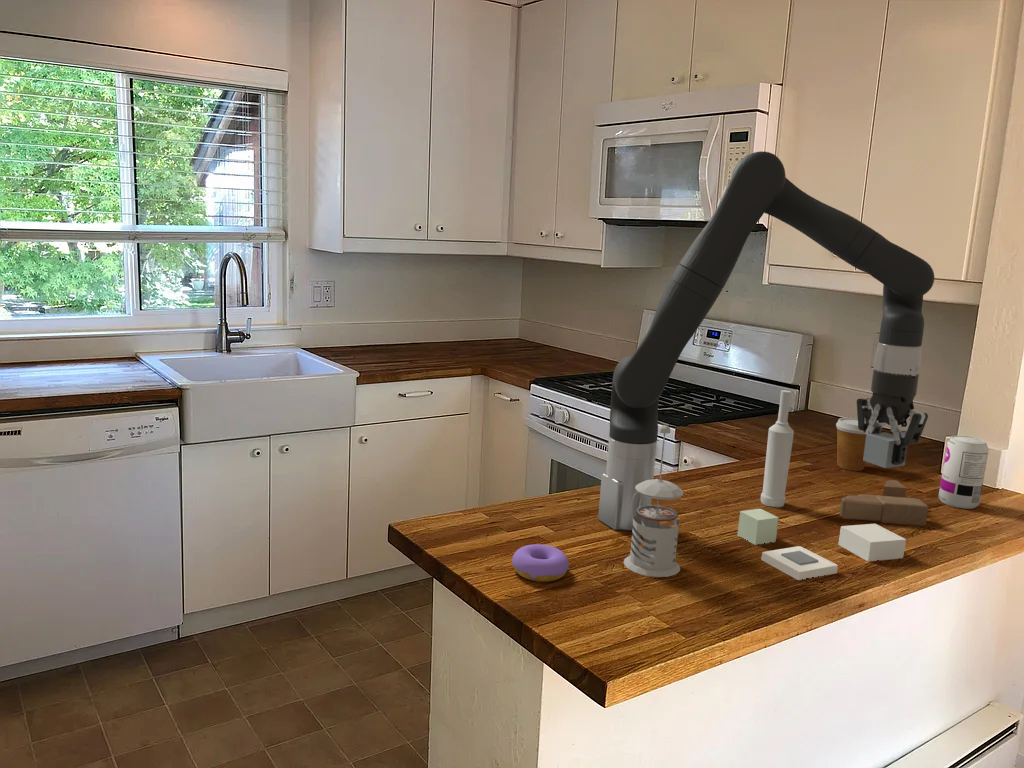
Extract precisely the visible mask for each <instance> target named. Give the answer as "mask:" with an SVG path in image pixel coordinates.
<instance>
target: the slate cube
mask: <svg viewBox="0 0 1024 768" xmlns="http://www.w3.org/2000/svg"><path fill="white" fill-rule="evenodd" d="M894 444H895V440H894V434H893V433H889V432H880V433H875V434H866V441H865V449H864V456H863V461H866V462H867V463H869V464H871V465H875V466H878V467H881V468H883V469H889V468H896V467H897V468H898V467H904V466H905V465H906V458H907V455H906V456H905V461H904V462H903V463H902V464H900V465H894V464H892V455H893V447H894ZM907 451H908V449H907V450H906V453H907ZM866 462H865V463H866Z"/></svg>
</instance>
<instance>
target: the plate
mask: <svg viewBox="0 0 1024 768" xmlns="http://www.w3.org/2000/svg"><path fill="white" fill-rule="evenodd" d="M761 561H763V562H764V563H766V564H768V565H770V566H772V567H773V568H775V569H776V570H779V571H781V572H782V573H784V574H786V575H788V576H790V577H792V579H795V580H797V581H802V579H803V580H807V579H806V578H809V579H813V578H812V577H814V578H818V576H819V577H823V576H824V575H825V576H829V575H834V574H837V573H838V567H839V565H838V564H836V563H834V562H832V561H831V560H829V559H827V558H825V557H822V556H821V555H819V554H817V553H814V552H813V551H811V550H809V549H806V548H805V547H802V546H801V545H799V546H798V545H797V546H790V547H785V548H779V549H774V550H766V551H762V552H761Z"/></svg>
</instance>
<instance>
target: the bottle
mask: <svg viewBox="0 0 1024 768" xmlns="http://www.w3.org/2000/svg"><path fill="white" fill-rule="evenodd" d="M791 397H792V390H786V389H783V390H780V395H779V398H780V399H779V407H778V408H779V409H778V415H777V420H776V421H775V424H773V425H771V426H770V427H769V428H768V434H767V443H766V444H767V446H766V452H765V453H766V454H765V455H766V456H765V464H764V465H765V466H764V473H763V474H764V475H763V486H762V492H761V493H760V503H761V504H762V505H764V506H767V507H770V506H771V507H770V508H782V507H784V506H785V503H786V498H787V497H786V490H787V489H786V487H787V482H788V474H789V468H790V462H791V455H792V454H791V453H792V447H793V441H794V434H795V430H794V429H793V428H792V427H791V426H790V423H789V422H788V418H789V410H790V401H791Z"/></svg>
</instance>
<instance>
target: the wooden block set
mask: <svg viewBox="0 0 1024 768" xmlns="http://www.w3.org/2000/svg"><path fill="white" fill-rule="evenodd" d="M882 491H883V492H882V495H876V494H862V493H860V494H858V495H851V494H850V495H846V496H844V497H842V498H841V500H840V508H839V514H838V515H839V516H840V517H841V518H842V519H843V520H853V521H854V520H855V521H857V520H858V521H867V522H868V521H871V522H880V523H884V524H896V525H897V524H898V525H911V526H923V527H924V526H927V525H926V524H927V519H928V513H929V512H928V511H929V505H927V504H926V503H925V502H924V501H922V500H921V499H919V498H915V497H906V491H907V487H905V485H903V484H902V483H900V481H898V480H896V479H895V480H894V479H889V480H886V481H885V484H884V487H883V490H882Z"/></svg>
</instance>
